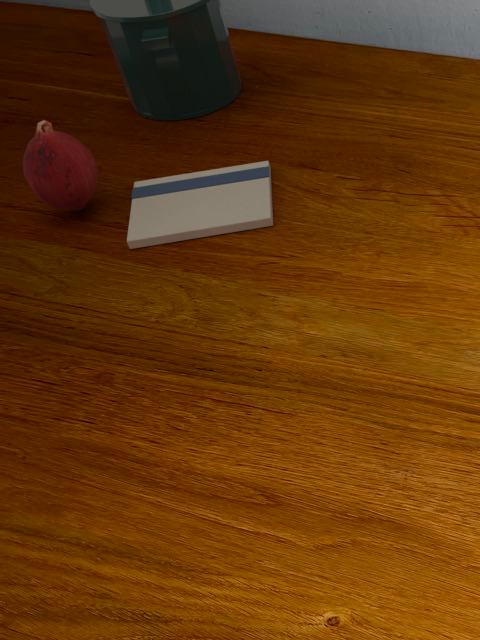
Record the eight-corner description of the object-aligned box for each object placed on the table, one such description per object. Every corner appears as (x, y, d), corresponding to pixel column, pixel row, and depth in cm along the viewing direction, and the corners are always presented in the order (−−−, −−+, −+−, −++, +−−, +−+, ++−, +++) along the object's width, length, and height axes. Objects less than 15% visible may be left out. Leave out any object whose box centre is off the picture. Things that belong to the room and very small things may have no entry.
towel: (129, 249, 88) (125, 240, 87) (137, 189, 94) (133, 180, 94) (273, 226, 89) (270, 216, 88) (270, 168, 95) (268, 159, 95)
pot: (127, 141, 101) (89, 40, 94) (138, 68, 112) (104, -27, 104) (242, 123, 101) (213, 21, 94) (242, 53, 112) (215, -43, 105)
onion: (94, 229, 90) (55, 140, 84) (33, 227, 91) (-10, 139, 85) (122, 193, 94) (87, 106, 88) (63, 192, 95) (25, 105, 89)
